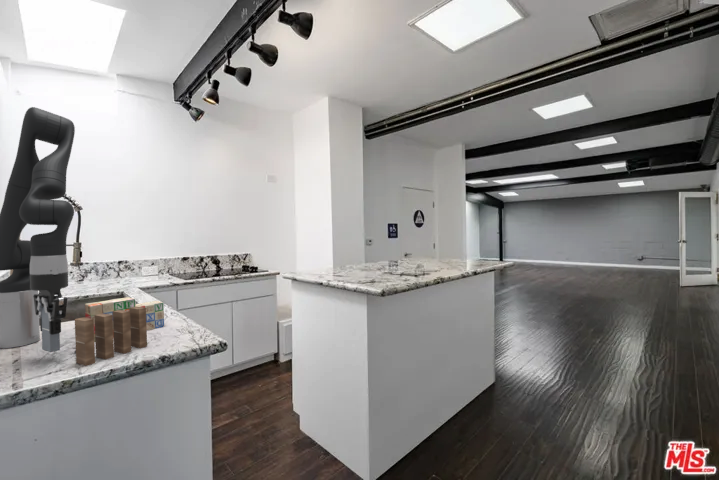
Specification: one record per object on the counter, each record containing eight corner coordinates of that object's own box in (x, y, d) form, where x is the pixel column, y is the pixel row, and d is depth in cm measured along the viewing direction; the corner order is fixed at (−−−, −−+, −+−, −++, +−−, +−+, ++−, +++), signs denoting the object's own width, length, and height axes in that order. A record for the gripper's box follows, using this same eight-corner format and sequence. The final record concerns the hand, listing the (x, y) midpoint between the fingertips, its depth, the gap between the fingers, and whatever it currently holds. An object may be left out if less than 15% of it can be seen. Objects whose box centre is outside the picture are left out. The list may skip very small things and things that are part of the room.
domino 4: (123, 353, 90) (122, 312, 90) (113, 351, 92) (112, 311, 92) (131, 351, 92) (130, 311, 92) (121, 348, 94) (120, 309, 94)
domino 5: (140, 348, 94) (138, 309, 94) (130, 346, 96) (129, 307, 96) (147, 346, 96) (146, 307, 96) (137, 343, 98) (136, 306, 98)
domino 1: (50, 352, 85) (49, 308, 84) (42, 349, 87) (41, 306, 86) (60, 349, 86) (59, 307, 86) (51, 346, 89) (50, 305, 88)
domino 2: (85, 366, 82) (84, 321, 82) (76, 362, 84) (74, 319, 84) (95, 363, 84) (93, 319, 84) (85, 360, 86) (83, 317, 86)
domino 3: (105, 359, 86) (104, 316, 86) (95, 356, 88) (94, 315, 88) (114, 356, 88) (112, 315, 88) (104, 354, 90) (102, 313, 90)
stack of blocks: (157, 324, 120) (156, 292, 120) (164, 326, 117) (163, 294, 116) (85, 339, 103) (84, 303, 103) (91, 343, 99) (89, 305, 99)
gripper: (19, 271, 86) (20, 332, 86) (42, 274, 80) (44, 340, 80) (55, 268, 93) (56, 325, 93) (79, 271, 86) (80, 332, 87)
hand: (50, 332), depth 86 cm, fingers closed on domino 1, 5 cm apart
